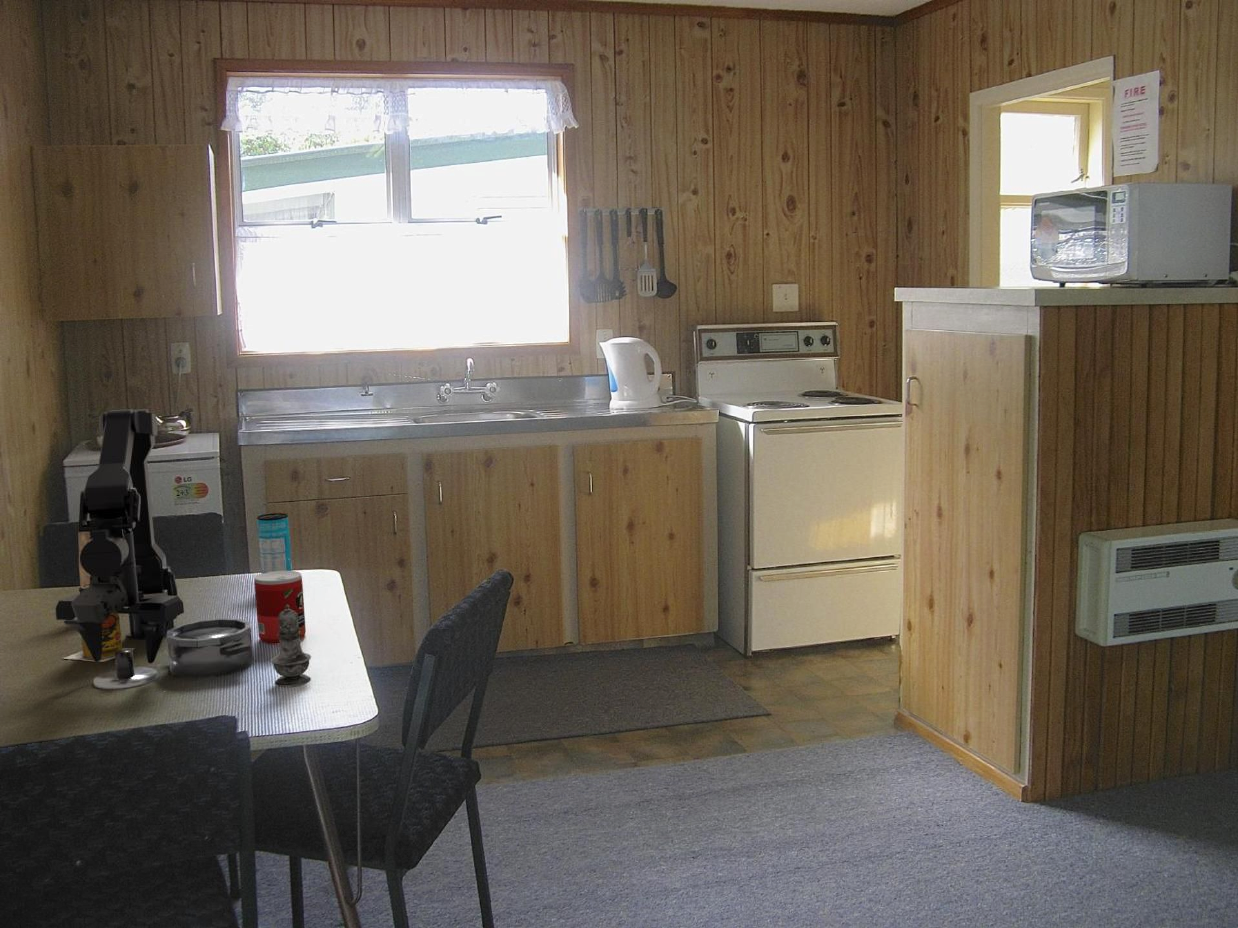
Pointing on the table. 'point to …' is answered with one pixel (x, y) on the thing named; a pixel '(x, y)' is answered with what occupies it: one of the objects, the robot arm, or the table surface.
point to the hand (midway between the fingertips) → (124, 661)
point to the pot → (209, 648)
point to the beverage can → (274, 542)
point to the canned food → (278, 602)
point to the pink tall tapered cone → (83, 540)
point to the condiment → (103, 638)
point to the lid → (125, 673)
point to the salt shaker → (290, 652)
